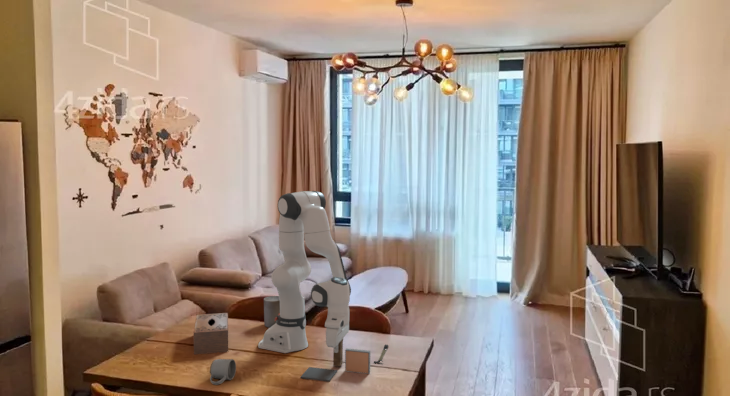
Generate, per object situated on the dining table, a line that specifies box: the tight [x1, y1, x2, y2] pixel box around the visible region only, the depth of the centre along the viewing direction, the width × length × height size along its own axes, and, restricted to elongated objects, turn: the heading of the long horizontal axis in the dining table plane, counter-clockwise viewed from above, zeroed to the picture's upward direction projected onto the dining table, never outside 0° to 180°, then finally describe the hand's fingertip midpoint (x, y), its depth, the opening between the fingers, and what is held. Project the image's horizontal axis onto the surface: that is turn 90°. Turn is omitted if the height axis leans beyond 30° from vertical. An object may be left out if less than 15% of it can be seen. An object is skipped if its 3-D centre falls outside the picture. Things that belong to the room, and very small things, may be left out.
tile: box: [344, 348, 371, 375], centre depth 229 cm, size 10×2×9 cm, turn 76°
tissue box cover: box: [193, 312, 229, 355], centre depth 260 cm, size 26×14×10 cm, turn 14°
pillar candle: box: [263, 295, 280, 329], centre depth 286 cm, size 10×10×15 cm
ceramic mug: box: [209, 358, 237, 386], centre depth 221 cm, size 11×8×8 cm
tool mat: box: [300, 366, 338, 383], centre depth 226 cm, size 12×10×1 cm
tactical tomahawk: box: [373, 344, 389, 365], centre depth 247 cm, size 21×7×1 cm, turn 166°
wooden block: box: [332, 338, 344, 367], centre depth 234 cm, size 3×3×14 cm
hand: (338, 350), depth 234 cm, fingers closed on wooden block, 3 cm apart
